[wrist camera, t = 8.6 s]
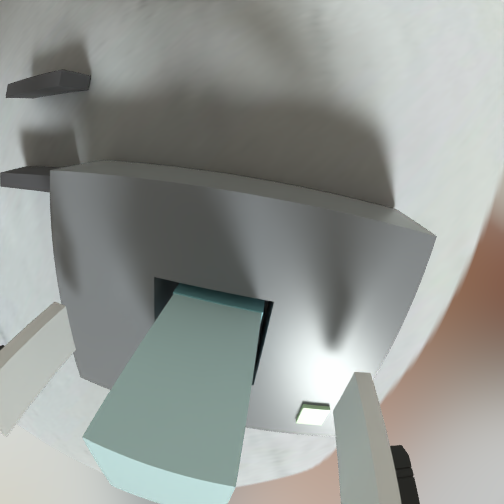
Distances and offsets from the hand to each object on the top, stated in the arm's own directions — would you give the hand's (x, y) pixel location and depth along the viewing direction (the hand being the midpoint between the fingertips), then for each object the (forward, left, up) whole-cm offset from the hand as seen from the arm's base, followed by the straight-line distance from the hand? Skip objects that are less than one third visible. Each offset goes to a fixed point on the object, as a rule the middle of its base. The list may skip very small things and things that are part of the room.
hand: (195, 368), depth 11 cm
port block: (0, 0, -7) cm, 7 cm away
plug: (0, 0, -6) cm, 6 cm away
